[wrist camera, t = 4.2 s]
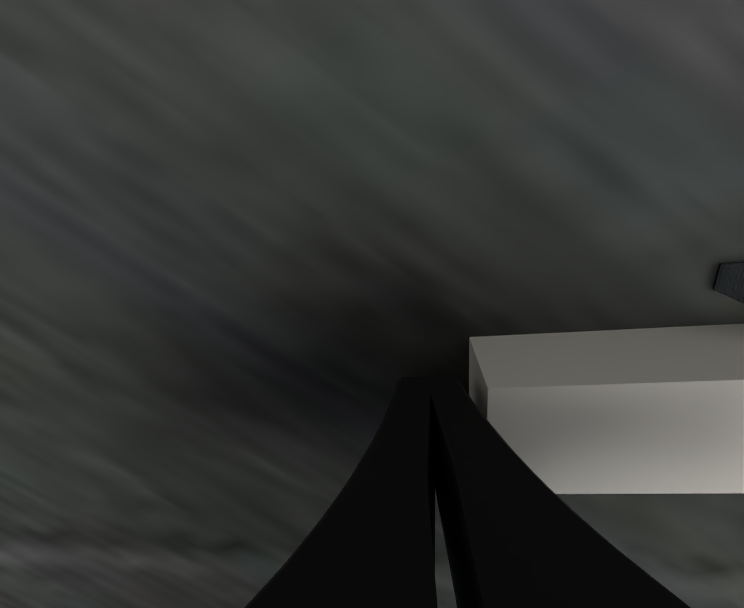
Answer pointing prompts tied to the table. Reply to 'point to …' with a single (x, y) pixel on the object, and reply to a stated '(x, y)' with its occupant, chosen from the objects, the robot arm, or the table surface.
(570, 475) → the cream l-shaped block
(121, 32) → the table surface
